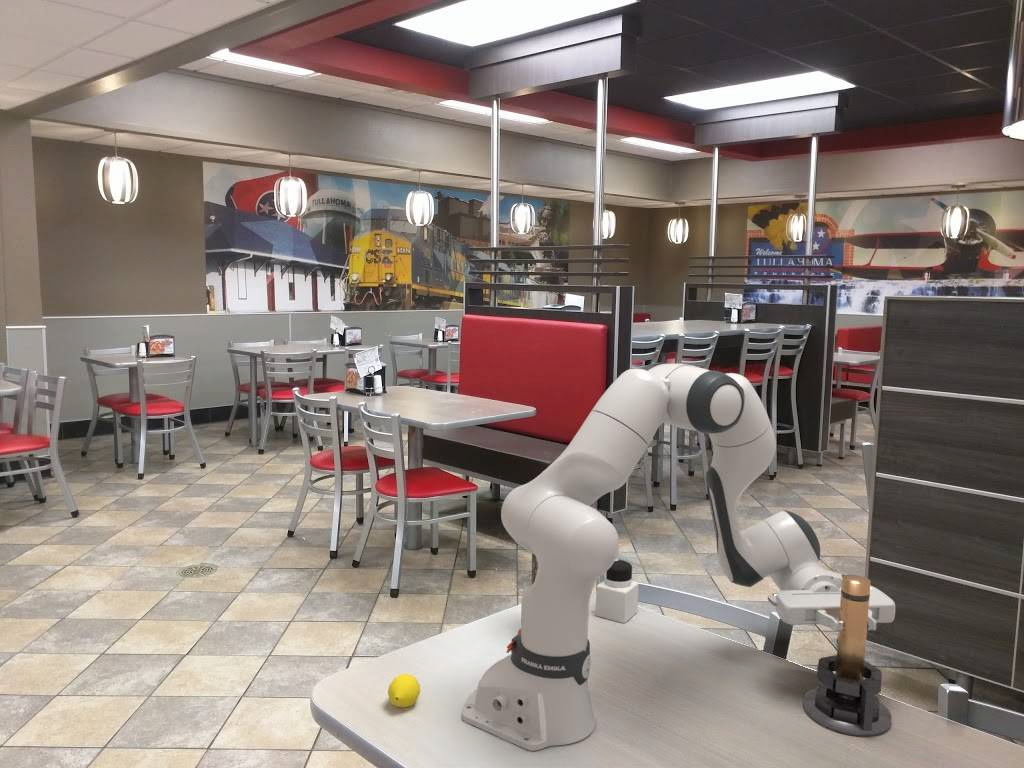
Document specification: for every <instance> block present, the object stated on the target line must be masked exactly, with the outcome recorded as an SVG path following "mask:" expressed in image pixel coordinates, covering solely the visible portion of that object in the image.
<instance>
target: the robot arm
mask: <svg viewBox="0 0 1024 768" xmlns="http://www.w3.org/2000/svg"><path fill="white" fill-rule="evenodd" d="M664 423H665V424H669V425H671V426H672V427H673V426H674V427H675V428H678V429H682V430H689V431H697V432H700V433H703V434H708V436H709V438H710V442H711V444H712V461H711V464H710V466H709V468H708V469H707V471H706V473H705V482H706V483H705V484H706V490H707V492H706V493H707V498H708V503H709V506H710V507H709V508H710V513H711V518H712V523H713V529H714V532H715V533H714V534H715V538H716V551H717V557H718V563H719V565H720V569H721V570H722V573H724V575H725V577H726V578H727V579H728V580H729V582H730V583H732V584H735V585H737V586H741V587H747V588H752V587H753V586H755V585H756V584H758V583H759V582H762V581H763V580H764V579H765V578H768V577H769V576H770V578H771V580H772V581H773V583H774V585H776V587H777V588H778V590H779V591H777V592H774V593H772V594H771V595H768V597H767V602H769V604H770V605H772V606H774V607H775V611H776V613H777V615H778V617H779V618H780V619H781V621H782V622H783V623H784V624H787V625H791V626H800V625H801V626H802V625H806V626H807V625H820V626H823V627H826V628H830V630H832V631H833V632H838V631H843V621H842V620H840V618H839V616H840V601H841V587H842V576H844V575H845V574H844V573H839V572H835V571H832V570H827V569H825V568H824V567H821V566H820V564H819V562H820V559H821V546H820V542H819V541H820V540H819V539H818V536H817V533H815V531H814V529H813V528H812V527H811V525H810V524H809V523H808V522H807V521H806V520H805V519H804V518H803V517H802V516H801V515H800V514H797V513H795V512H793V511H789V510H781V511H779V512H776V513H775V514H773V515H771V516H769V517H766V518H765V519H762V520H761V521H759V522H756V524H753V525H751V526H749V527H748V528H746V529H743V530H741V528H740V524H739V517H738V513H737V512H738V511H737V504H738V502H739V500H740V497H741V496H742V495H743V493H744V492H745V491H746V490H747V488H749V486H750V485H751V484H752V483H753V482H754V481H755V480H756V479H757V478H759V477H760V476H761V475H762V474H763V473H764V472H765V471H766V470H767V469H768V467H769V466H770V465H771V463H772V461H773V459H774V458H775V455H776V454H775V453H776V452H777V451H776V450H777V449H776V448H777V441H776V436H775V432H774V428H773V426H772V423H771V420H770V418H769V416H768V412H767V411H766V408H765V406H764V403H763V402H762V400H761V398H760V396H759V395H758V393H757V391H756V389H755V388H754V386H753V385H752V383H751V382H750V381H749V379H748V378H746V377H745V376H744V375H742V374H739V373H734V372H729V373H728V372H727V373H724V372H722V371H718V370H709V369H707V368H703V367H699V366H696V365H693V364H688V363H671V362H668V361H661V362H655V363H654V362H653V363H650V364H648V365H646V366H644V367H643V368H630V369H626V370H625V371H624V372H622V373H621V374H620V375H619V376H618V377H617V378H616V379H615V380H614V381H613V382H612V383H611V384H610V386H608V388H607V389H606V390H605V392H604V393H603V394H602V395H601V396H600V398H599V399H598V400H597V402H596V403H595V405H594V407H592V409H591V411H590V413H588V416H587V417H586V418H585V420H584V421H583V423H582V425H581V426H580V428H579V429H578V430H577V432H576V434H575V435H574V436H573V438H572V440H571V441H570V442H569V444H568V445H567V447H566V448H565V449H564V451H562V452H561V453H560V455H559V456H558V457H557V458H555V460H554V461H553V462H552V463H551V464H550V465H548V466H547V468H546V469H544V470H543V471H542V472H541V473H540V474H539V475H537V476H536V477H535V478H534V479H532V480H530V481H529V482H527V483H525V484H522V485H519V486H517V487H515V488H514V489H512V490H511V491H510V492H509V493H508V494H507V495H506V497H505V499H504V501H503V503H502V506H501V510H500V511H501V512H500V515H501V516H500V518H501V523H502V525H503V528H505V530H506V532H507V533H508V535H509V536H510V537H511V538H512V540H513V541H514V542H515V543H516V544H518V546H520V547H522V548H524V549H525V550H527V551H528V552H529V553H531V554H532V553H533V554H534V555H535V556H536V558H537V562H538V570H537V574H536V578H535V581H534V584H532V583H531V585H529V586H528V587H526V589H525V590H524V592H523V594H522V596H521V616H520V617H521V618H520V619H521V620H520V622H521V623H520V624H521V625H520V629H519V630H518V631H517V635H515V636H513V638H511V640H510V641H511V642H510V643H508V645H506V654H508V655H506V657H503V658H501V659H500V660H498V661H496V662H495V663H494V664H493V665H491V666H490V667H489V668H488V669H487V670H486V671H485V672H484V674H483V675H482V676H481V678H480V679H479V682H478V684H477V689H476V690H474V691H473V693H472V694H471V695H469V697H468V698H467V699H466V700H465V702H464V703H463V706H462V711H461V718H462V719H461V720H463V721H464V722H465V723H468V724H470V725H472V726H474V727H477V728H479V729H480V730H483V731H484V732H485V731H486V732H488V733H489V734H493V735H494V736H495V737H499V738H501V739H503V740H506V741H507V742H509V743H512V744H514V745H516V746H518V747H520V748H523V749H525V750H528V751H532V752H533V751H539V750H542V749H545V748H548V747H552V746H564V745H570V744H573V743H576V742H577V743H578V742H579V741H582V740H583V739H585V738H587V737H588V736H589V735H591V734H592V733H593V731H594V730H595V726H596V718H595V715H594V712H593V707H592V702H591V701H592V700H591V696H590V687H589V677H590V671H591V662H592V661H591V657H592V656H591V644H590V643H591V642H590V640H589V637H588V636H589V635H588V634H589V615H590V613H589V612H590V602H591V596H592V592H593V590H594V586H595V584H596V582H597V579H599V577H600V576H602V575H604V573H605V572H606V571H607V570H608V569H609V568H610V567H611V566H612V564H613V563H614V561H615V560H617V556H618V553H619V548H620V538H619V533H618V532H617V530H616V529H617V528H616V527H615V526H614V525H613V524H612V523H611V522H610V521H609V520H608V519H607V517H605V516H604V515H603V514H602V513H601V512H600V511H598V510H597V509H596V508H594V507H592V505H593V504H595V502H596V501H597V500H599V499H600V498H601V497H603V496H604V495H606V494H608V493H610V492H611V493H612V492H613V491H616V490H619V489H620V488H621V487H623V486H624V485H625V484H626V483H627V481H628V479H629V478H630V476H631V474H632V473H633V471H634V469H635V468H636V466H637V465H638V463H639V461H640V460H641V458H642V457H643V455H644V454H645V452H646V450H647V448H648V447H649V445H650V443H651V442H652V440H653V438H654V436H655V434H656V432H657V431H658V429H659V427H660V426H661V425H662V424H664ZM895 617H896V603H895V601H894V599H892V598H890V596H888V595H887V594H885V593H884V592H883V591H882V590H880V589H878V588H877V587H875V586H873V585H870V598H869V610H868V623H867V631H877V624H883V623H885V624H887V623H893V622H894V620H895ZM509 653H511V654H509Z"/></svg>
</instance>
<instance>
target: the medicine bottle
mask: <svg viewBox="0 0 1024 768" xmlns="http://www.w3.org/2000/svg"><path fill="white" fill-rule="evenodd" d="M603 575H604V577H603V580H602V582H600V583H598V584H597V585H596V592H595V593H596V595H595V597H596V598H595V616H597V617H599V618H603V619H605V620H606V619H607V620H610V621H615V622H617V623H622V624H626V623H627V622H628V621H629V620H630V619H631V618H633V617H634V616H635V615H636V614H637V613H638V611H639V609H638V608H639V606H638V605H639V582H638V581H635V580H634V581H633V580H632V579H633V576H632V575H633V565H632V564H631V563H630V562H629V561H626V560H622V559H615V561H614V563H613V564H612V566H611V567H610V568H609V569H608V570H607V571H606V572H605V573H604V574H603Z"/></svg>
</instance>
